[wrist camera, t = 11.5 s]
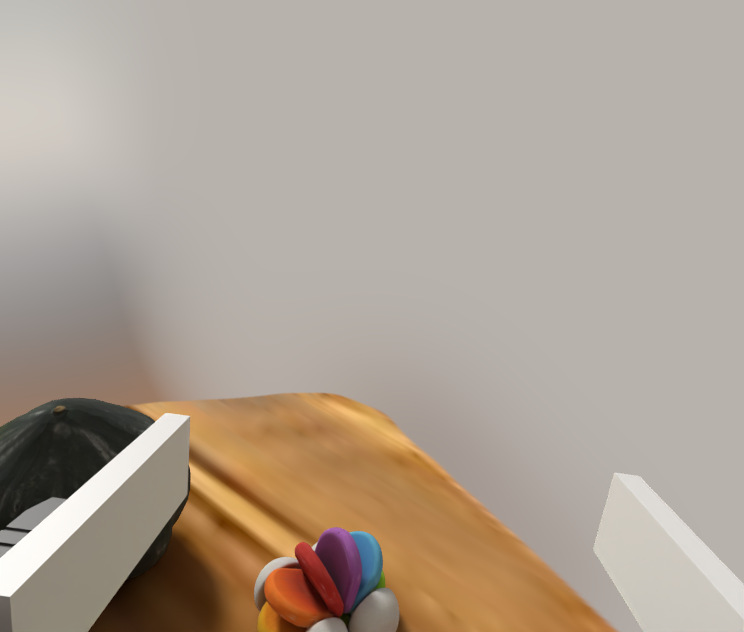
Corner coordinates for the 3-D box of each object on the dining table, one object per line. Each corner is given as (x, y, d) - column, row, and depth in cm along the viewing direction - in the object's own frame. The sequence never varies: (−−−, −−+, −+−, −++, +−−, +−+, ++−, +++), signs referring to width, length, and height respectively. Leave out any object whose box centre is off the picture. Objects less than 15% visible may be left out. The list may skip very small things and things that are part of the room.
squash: (126, 421, 44) (10, 334, 32) (249, 474, 39) (164, 395, 27) (9, 572, 37) (-196, 530, 25) (142, 662, 32) (-38, 664, 20)
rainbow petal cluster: (233, 611, 31) (239, 523, 30) (345, 559, 38) (354, 483, 36) (289, 723, 25) (300, 619, 23) (412, 638, 31) (428, 551, 30)
